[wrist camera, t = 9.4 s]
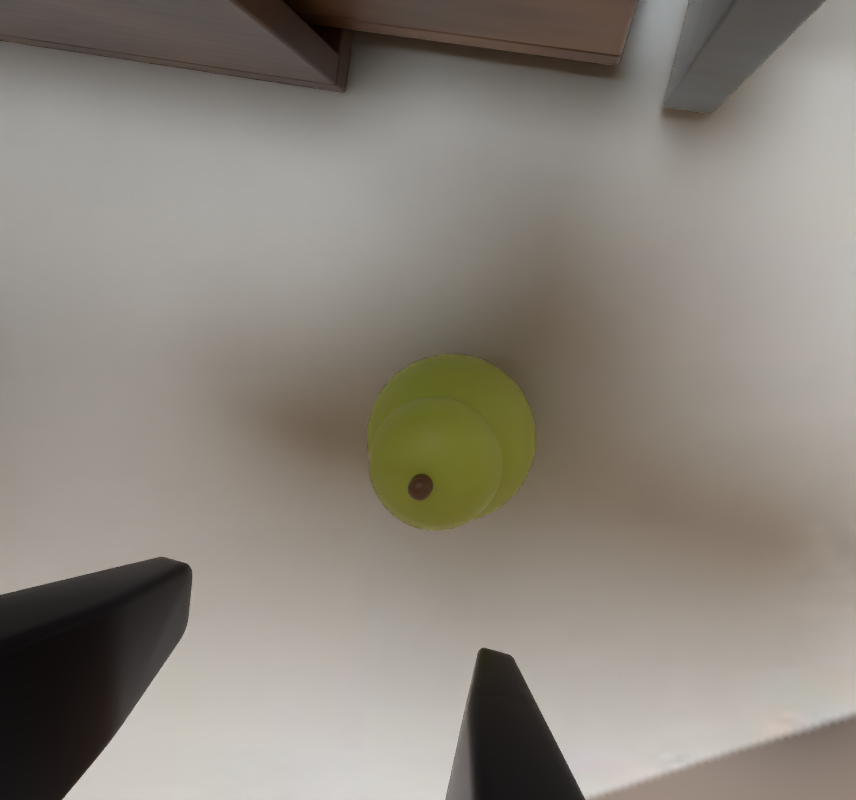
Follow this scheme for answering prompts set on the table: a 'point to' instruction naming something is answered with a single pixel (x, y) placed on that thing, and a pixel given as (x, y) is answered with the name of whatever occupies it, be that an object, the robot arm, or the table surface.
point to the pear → (449, 441)
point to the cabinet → (189, 36)
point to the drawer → (587, 33)
